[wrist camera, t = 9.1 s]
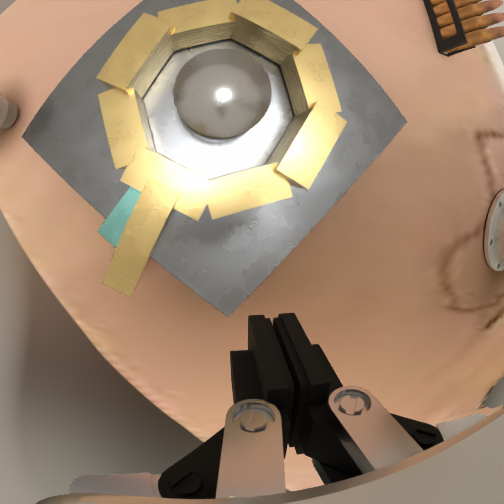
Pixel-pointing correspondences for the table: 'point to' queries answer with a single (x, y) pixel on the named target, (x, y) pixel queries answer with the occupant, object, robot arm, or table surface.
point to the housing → (214, 149)
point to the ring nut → (181, 178)
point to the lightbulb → (7, 113)
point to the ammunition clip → (463, 23)
